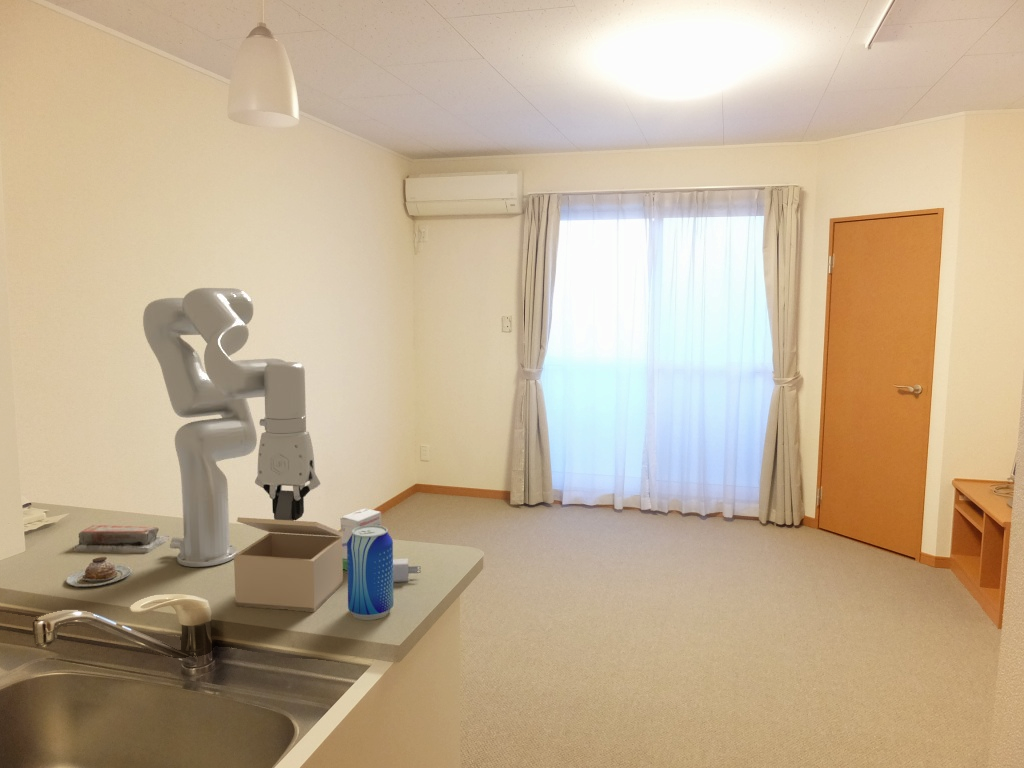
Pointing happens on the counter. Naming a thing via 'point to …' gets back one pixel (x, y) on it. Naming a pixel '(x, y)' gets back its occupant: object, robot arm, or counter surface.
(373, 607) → the beer can
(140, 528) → the packaged product
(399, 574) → the usb wall charger
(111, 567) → the pastry
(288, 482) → the robot arm
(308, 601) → the carton
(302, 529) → the tan labeled panel
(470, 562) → the counter surface
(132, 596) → the counter surface
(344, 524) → the ink box
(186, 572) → the counter surface
